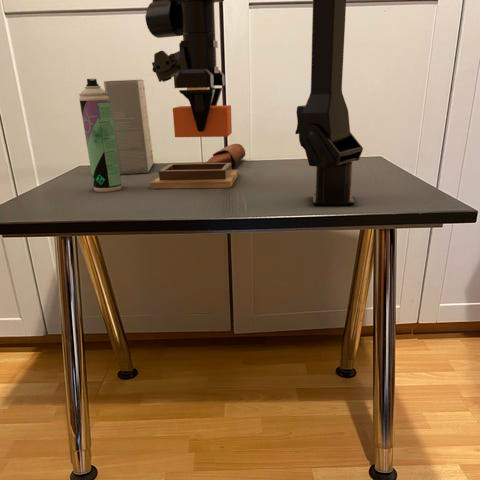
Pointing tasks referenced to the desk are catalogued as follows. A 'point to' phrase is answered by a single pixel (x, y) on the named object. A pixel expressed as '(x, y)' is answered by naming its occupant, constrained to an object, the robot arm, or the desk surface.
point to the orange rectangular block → (215, 124)
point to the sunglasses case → (228, 155)
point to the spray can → (100, 137)
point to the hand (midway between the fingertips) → (204, 129)
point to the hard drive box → (130, 125)
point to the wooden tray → (196, 176)
